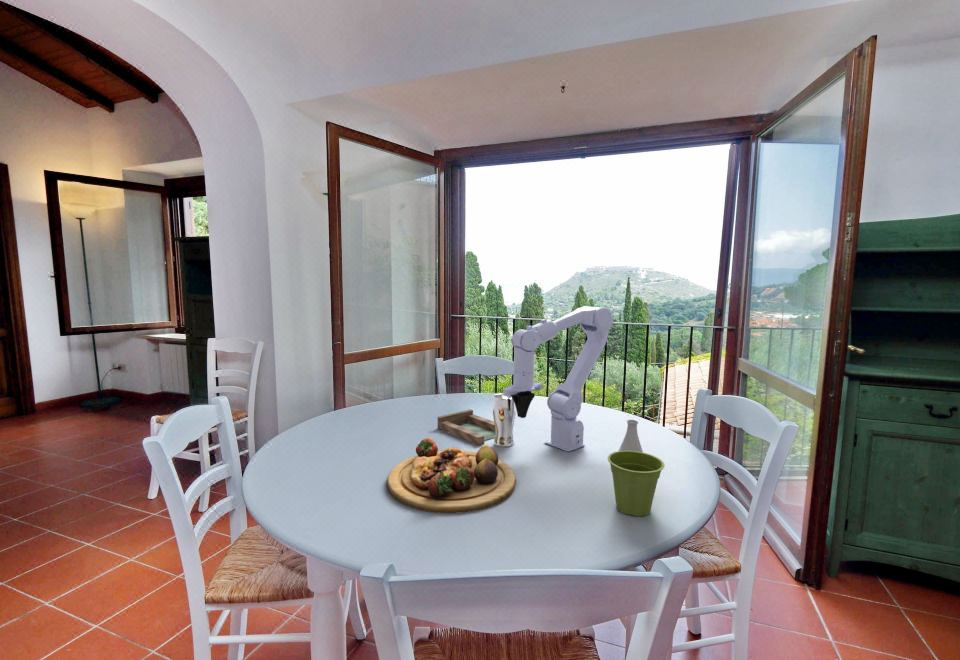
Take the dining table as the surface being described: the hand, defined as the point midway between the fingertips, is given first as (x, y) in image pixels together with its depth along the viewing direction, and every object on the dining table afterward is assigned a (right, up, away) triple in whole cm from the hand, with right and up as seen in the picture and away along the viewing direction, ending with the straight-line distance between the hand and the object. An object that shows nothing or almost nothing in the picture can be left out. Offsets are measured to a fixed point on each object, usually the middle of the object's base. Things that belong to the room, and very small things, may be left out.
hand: (521, 416), depth 136 cm
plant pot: (+22, -15, -33) cm, 42 cm away
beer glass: (-5, -10, +7) cm, 13 cm away
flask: (+32, -11, 0) cm, 34 cm away
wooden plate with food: (-19, -13, -19) cm, 30 cm away
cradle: (-14, -8, +17) cm, 24 cm away
